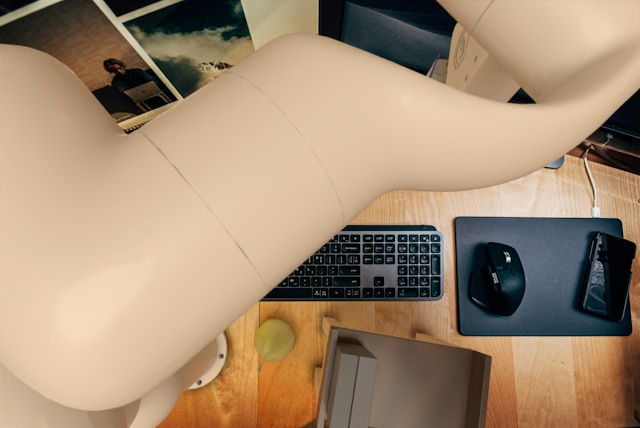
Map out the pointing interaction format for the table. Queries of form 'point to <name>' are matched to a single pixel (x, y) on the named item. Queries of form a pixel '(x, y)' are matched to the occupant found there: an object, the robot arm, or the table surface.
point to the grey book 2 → (363, 388)
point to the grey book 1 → (342, 386)
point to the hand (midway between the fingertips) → (450, 102)
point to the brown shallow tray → (416, 382)
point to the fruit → (274, 341)
